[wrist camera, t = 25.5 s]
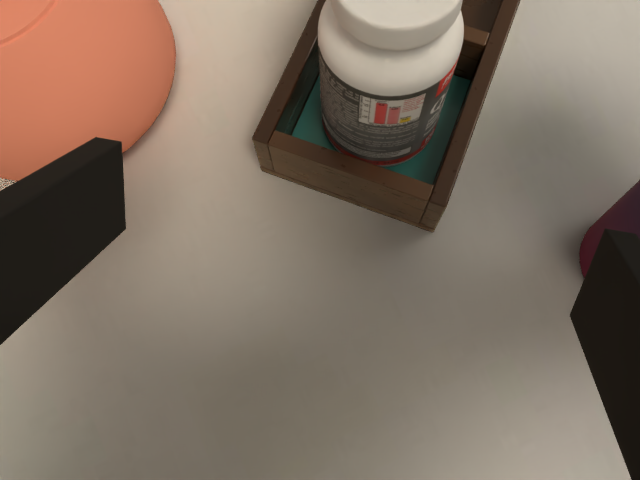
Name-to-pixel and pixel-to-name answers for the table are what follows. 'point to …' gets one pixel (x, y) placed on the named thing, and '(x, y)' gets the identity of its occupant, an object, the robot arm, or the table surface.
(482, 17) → the divided tray
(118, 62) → the sugar bowl
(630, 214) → the cup
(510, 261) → the table surface
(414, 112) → the pill bottle
